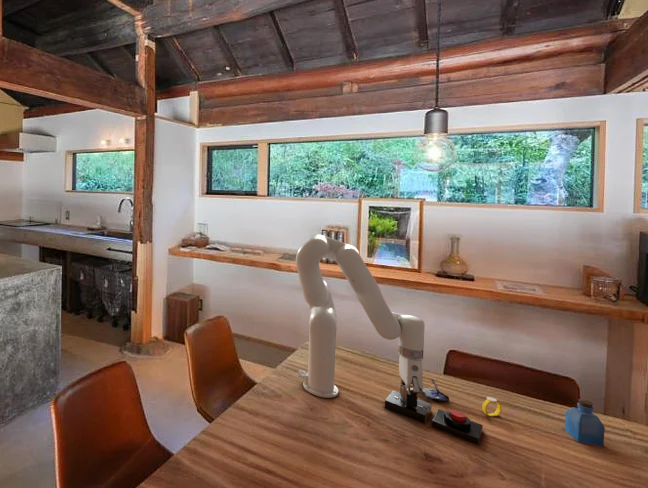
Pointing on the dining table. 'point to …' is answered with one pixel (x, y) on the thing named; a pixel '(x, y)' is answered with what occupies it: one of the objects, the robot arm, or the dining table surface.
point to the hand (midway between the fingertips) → (408, 400)
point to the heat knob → (404, 393)
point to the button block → (458, 427)
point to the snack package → (434, 393)
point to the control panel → (408, 407)
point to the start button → (457, 415)
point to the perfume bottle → (584, 424)
